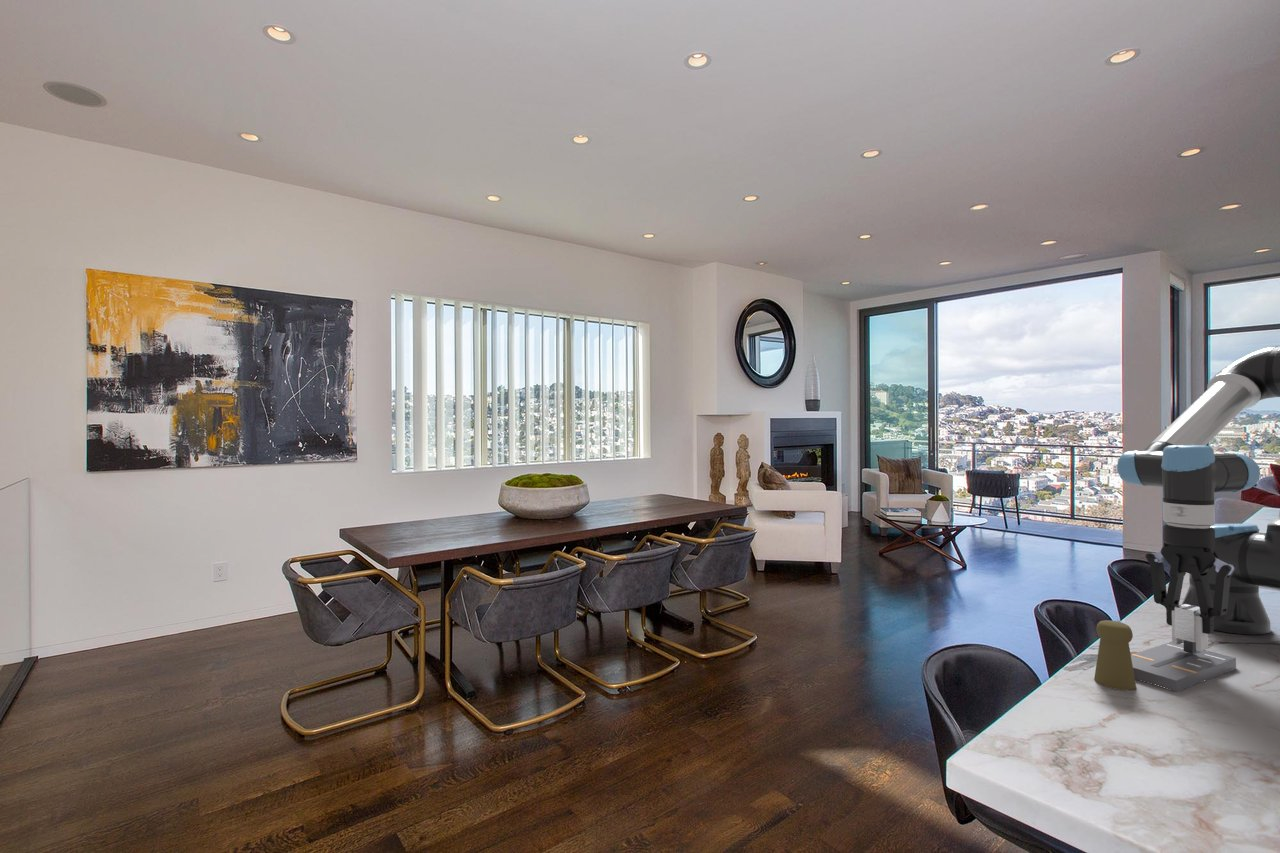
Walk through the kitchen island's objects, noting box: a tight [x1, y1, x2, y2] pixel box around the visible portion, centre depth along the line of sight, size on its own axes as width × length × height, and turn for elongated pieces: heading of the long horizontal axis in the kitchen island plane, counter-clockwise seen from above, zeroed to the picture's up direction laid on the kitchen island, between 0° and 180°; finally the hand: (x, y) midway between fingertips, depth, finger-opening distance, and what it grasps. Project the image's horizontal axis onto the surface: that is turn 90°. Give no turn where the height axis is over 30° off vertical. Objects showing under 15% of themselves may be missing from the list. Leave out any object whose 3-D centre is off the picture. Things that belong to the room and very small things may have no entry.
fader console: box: [1130, 641, 1237, 693], centre depth 116 cm, size 22×10×2 cm, turn 116°
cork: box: [1093, 619, 1137, 691], centre depth 111 cm, size 6×6×11 cm
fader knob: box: [1175, 604, 1201, 654], centre depth 119 cm, size 4×3×9 cm
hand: (1189, 645), depth 119 cm, fingers closed on fader knob, 3 cm apart
